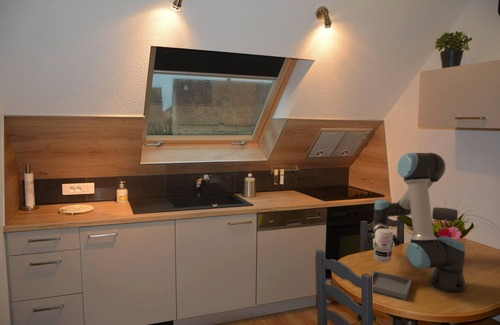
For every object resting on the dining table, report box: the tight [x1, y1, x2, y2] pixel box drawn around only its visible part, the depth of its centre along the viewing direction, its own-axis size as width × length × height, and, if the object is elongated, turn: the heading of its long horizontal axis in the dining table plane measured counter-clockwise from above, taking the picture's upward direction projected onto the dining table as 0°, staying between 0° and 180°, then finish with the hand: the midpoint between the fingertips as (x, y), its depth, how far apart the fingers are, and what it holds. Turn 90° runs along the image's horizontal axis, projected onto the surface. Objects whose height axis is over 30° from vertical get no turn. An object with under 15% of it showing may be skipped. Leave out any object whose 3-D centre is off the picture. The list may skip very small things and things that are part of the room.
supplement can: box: [373, 228, 394, 263], centre depth 183 cm, size 8×8×15 cm
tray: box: [370, 270, 413, 302], centre depth 175 cm, size 18×18×3 cm
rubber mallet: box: [431, 206, 459, 221], centre depth 209 cm, size 12×8×30 cm, turn 65°
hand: (383, 246), depth 179 cm, fingers closed on supplement can, 8 cm apart
